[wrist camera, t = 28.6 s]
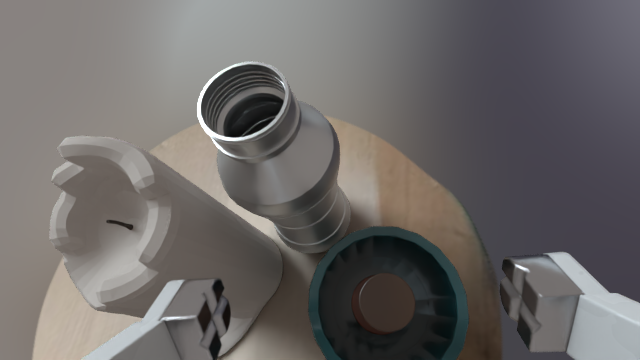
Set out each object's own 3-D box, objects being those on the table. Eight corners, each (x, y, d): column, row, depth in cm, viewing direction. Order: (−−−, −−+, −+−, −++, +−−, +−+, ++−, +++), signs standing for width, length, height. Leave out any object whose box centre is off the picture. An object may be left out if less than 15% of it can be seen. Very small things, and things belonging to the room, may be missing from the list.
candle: (141, 343, 30) (-239, 402, 11) (240, 216, 33) (72, 96, 14) (197, 401, 27) (-161, 598, 9) (298, 259, 30) (189, 183, 12)
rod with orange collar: (396, 274, 28) (419, 246, 15) (409, 326, 27) (448, 344, 14) (349, 283, 28) (332, 263, 15) (359, 335, 27) (351, 361, 14)
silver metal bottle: (270, 212, 32) (137, 85, 14) (330, 176, 33) (280, 7, 14) (301, 271, 30) (193, 215, 11) (366, 232, 30) (362, 116, 12)
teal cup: (458, 320, 27) (505, 328, 18) (368, 388, 26) (368, 432, 17) (389, 232, 30) (399, 198, 21) (308, 289, 29) (280, 281, 20)
